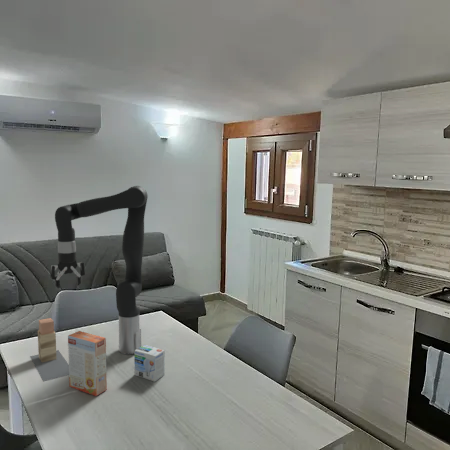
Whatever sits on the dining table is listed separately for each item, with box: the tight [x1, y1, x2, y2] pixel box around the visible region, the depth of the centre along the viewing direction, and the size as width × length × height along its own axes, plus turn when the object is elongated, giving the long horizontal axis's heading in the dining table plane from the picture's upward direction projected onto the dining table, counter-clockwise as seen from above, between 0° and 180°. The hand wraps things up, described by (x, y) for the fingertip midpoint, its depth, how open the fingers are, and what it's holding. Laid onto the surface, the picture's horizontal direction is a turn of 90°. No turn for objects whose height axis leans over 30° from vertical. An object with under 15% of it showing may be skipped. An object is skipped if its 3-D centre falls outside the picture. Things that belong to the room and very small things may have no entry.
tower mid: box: [37, 330, 57, 349], centre depth 186 cm, size 6×6×6 cm
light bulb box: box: [133, 344, 166, 382], centre depth 174 cm, size 11×7×11 cm, turn 62°
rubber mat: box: [29, 349, 69, 382], centre depth 181 cm, size 26×12×1 cm, turn 35°
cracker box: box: [67, 330, 108, 397], centre depth 162 cm, size 14×6×21 cm, turn 62°
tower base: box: [37, 344, 57, 362], centre depth 186 cm, size 6×6×6 cm
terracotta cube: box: [38, 317, 55, 335], centre depth 185 cm, size 5×5×5 cm
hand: (68, 286), depth 192 cm, fingers open, 8 cm apart
